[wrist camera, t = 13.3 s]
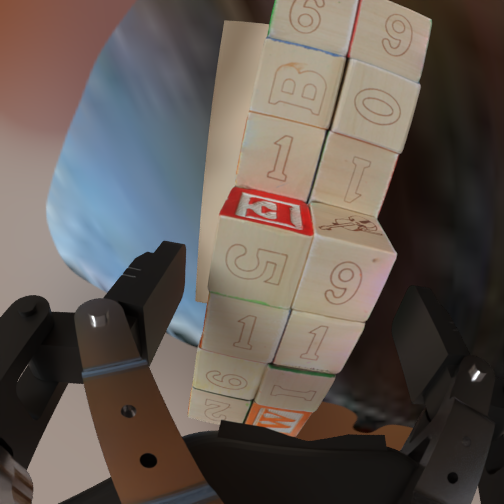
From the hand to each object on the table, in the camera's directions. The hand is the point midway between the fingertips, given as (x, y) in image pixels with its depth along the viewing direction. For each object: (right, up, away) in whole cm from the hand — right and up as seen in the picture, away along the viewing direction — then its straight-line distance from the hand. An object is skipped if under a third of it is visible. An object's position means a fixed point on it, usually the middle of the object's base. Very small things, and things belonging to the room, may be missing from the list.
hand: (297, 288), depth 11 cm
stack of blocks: (+1, +6, +11) cm, 12 cm away
